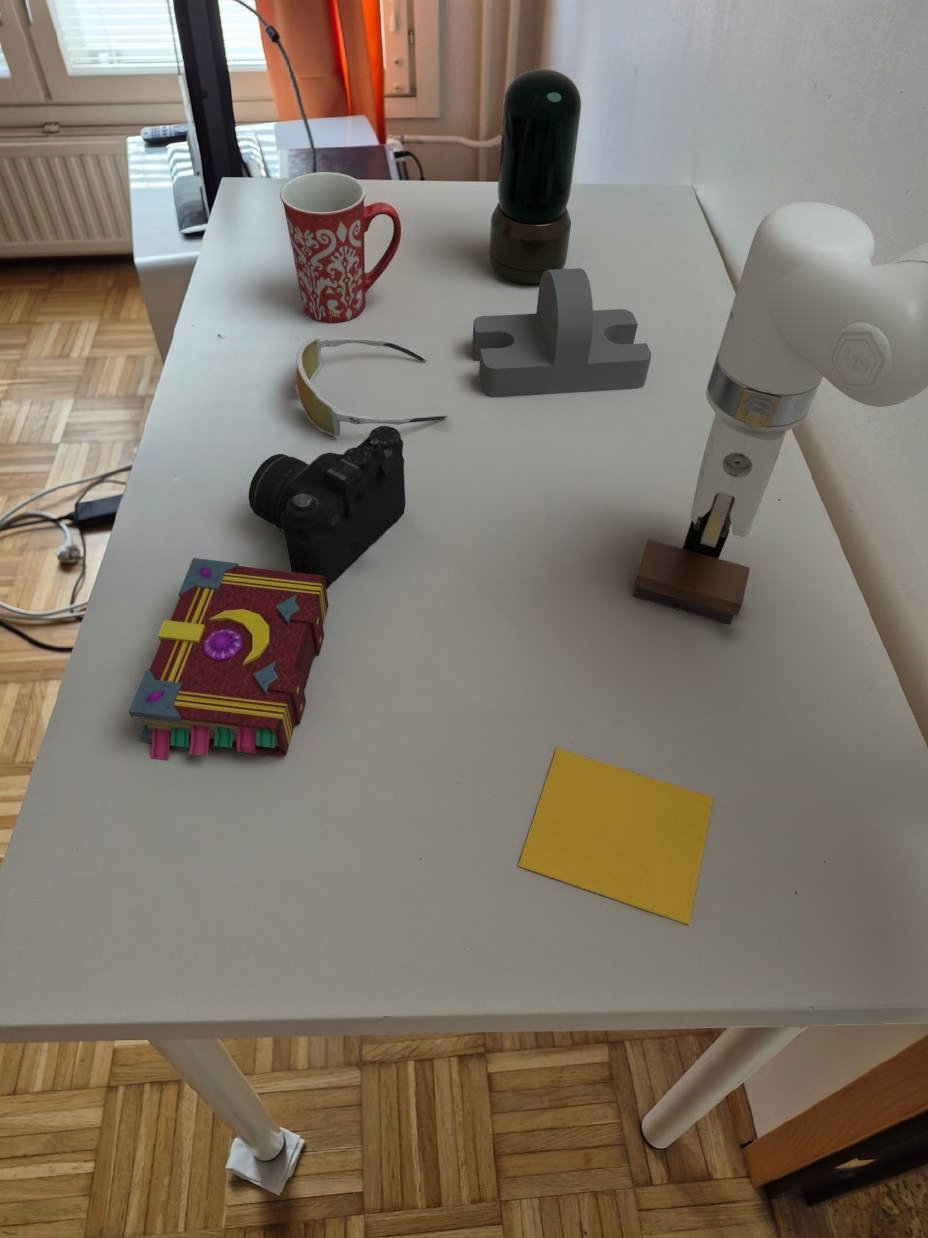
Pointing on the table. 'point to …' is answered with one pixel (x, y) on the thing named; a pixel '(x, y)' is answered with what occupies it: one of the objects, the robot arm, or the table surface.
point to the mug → (333, 242)
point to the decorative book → (233, 660)
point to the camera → (333, 502)
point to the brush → (691, 581)
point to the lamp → (535, 176)
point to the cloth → (619, 835)
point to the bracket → (559, 344)
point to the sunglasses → (325, 412)
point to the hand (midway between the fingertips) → (700, 553)
